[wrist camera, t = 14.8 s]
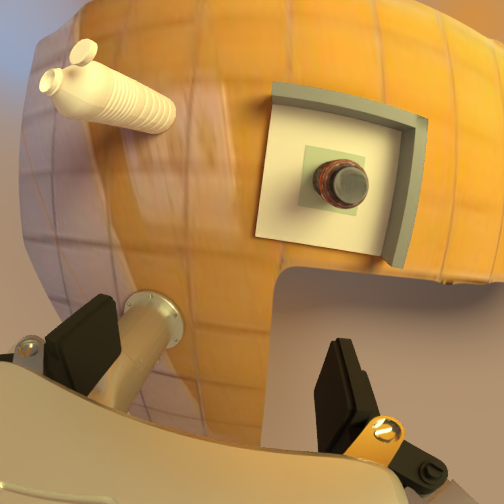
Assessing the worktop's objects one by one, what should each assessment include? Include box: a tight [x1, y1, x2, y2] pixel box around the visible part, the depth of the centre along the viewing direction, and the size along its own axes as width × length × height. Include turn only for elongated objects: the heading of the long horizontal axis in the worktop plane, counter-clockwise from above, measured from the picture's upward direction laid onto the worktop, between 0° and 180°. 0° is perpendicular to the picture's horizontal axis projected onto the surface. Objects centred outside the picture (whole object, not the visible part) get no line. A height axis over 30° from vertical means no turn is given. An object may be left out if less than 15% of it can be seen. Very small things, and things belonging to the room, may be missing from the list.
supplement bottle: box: [313, 159, 369, 209], centre depth 32 cm, size 6×6×11 cm
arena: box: [255, 82, 428, 269], centre depth 36 cm, size 22×22×6 cm
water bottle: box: [39, 39, 176, 134], centre depth 26 cm, size 9×6×25 cm
